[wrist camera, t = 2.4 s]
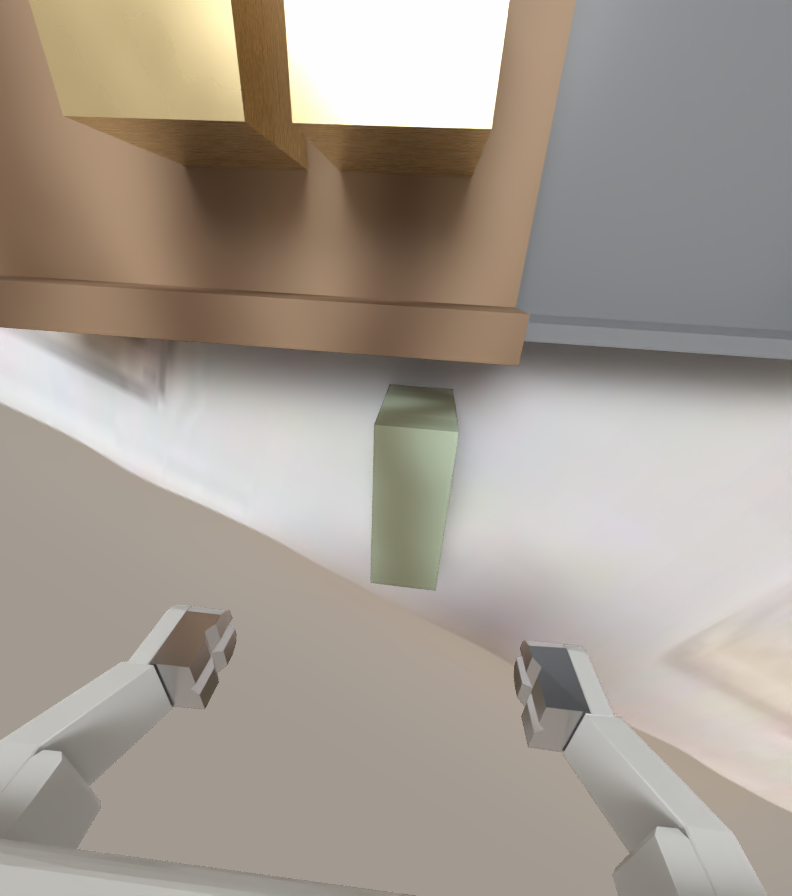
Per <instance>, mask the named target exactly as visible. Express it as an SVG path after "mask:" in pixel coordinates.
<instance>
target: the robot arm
mask: <svg viewBox="0 0 792 896" xmlns="http://www.w3.org/2000/svg"><path fill="white" fill-rule="evenodd" d="M231 620H232V615H231V612H230V610H222V609H214V608H205V607H196V606H190V605H189V606H188V605H179V604H175V605H173V606H172V607H171V608H169V609H168V610H167V612H166V613H165V614H164V615H163V617H162V618H161V619H160V621H159V622H158V624H157V625H156V626H155V627H154V628H153V630H152V631H151V632H150V634H149V635H148V636H147V637H146V639H145V640H144V641H143V643H142V644H141V645H140V647H139V648H138V649H137V650H136V652H135V653H134V654H133V656H132V657H131V658H130V660H129V661H128V662H123V661H122V662H121V663H119V664H118V665H116V666H114V667H113V668H111V669H110V670H109V671H107V672H105V673H104V674H102V675H101V676H99V677H97V678H96V679H94V680H93V681H92V682H90V683H88V684H87V685H85V686H84V687H82V688H80V689H79V690H77V691H76V692H74V693H73V694H71V695H70V696H68V697H67V698H65V699H64V700H62V701H60V702H59V703H57V704H56V705H54V706H53V707H51V708H50V709H48V710H47V711H45V712H43V713H42V714H40V715H39V716H37V717H36V718H34V719H33V720H31V721H30V722H28V723H26V724H25V725H23V726H22V727H20V728H19V729H17V730H16V731H14V732H13V733H11V734H9V735H8V736H7V737H5V738H3V739H2V740H0V896H416V895H408V894H401V893H394V892H387V891H379V890H372V889H365V888H358V887H350V886H343V885H336V884H328V883H321V882H313V881H307V880H299V879H292V878H284V877H277V876H270V875H263V874H256V873H248V872H241V871H234V870H227V869H219V868H212V867H205V866H197V865H190V864H182V863H176V862H168V861H161V860H154V859H146V858H139V857H131V856H124V855H117V854H110V853H102V852H96V851H88V850H81V849H77V847H78V846H79V844H80V843H81V841H82V839H83V837H84V836H85V834H86V832H87V831H88V829H89V827H90V826H91V824H92V822H93V821H94V819H95V817H96V815H97V814H98V812H99V811H100V809H101V801H100V799H99V798H98V797H97V795H96V794H95V793H94V792H93V791H92V789H91V788H90V787H89V786H90V785H91V784H92V783H93V782H94V781H95V780H96V779H97V778H98V777H100V776H101V775H102V774H103V773H104V772H105V771H106V770H107V769H108V768H109V767H111V765H113V764H114V763H115V762H116V761H117V760H118V759H119V758H120V757H121V756H122V755H123V754H125V753H126V752H127V751H128V750H129V749H130V748H131V747H132V746H133V745H134V744H135V743H136V742H138V741H139V740H140V739H141V738H142V737H143V736H144V735H145V734H146V733H147V732H148V731H149V730H150V729H152V728H153V727H154V726H155V725H156V724H157V723H158V722H159V721H160V720H161V719H162V718H163V717H165V716H166V715H167V714H168V713H169V712H170V711H171V710H172V709H173V708H172V707H182V708H194V709H205V708H206V706H207V704H208V702H209V700H210V698H211V696H212V694H213V693H214V690H215V688H216V687H217V684H218V683H219V681H218V672H219V671H220V670H222V669H223V668H224V667H226V666H227V665H228V662H229V661H230V659H231V657H232V654H233V651H234V648H235V644H236V631H235V628H234V627H232V626H231V625H230V622H231ZM520 650H521V654H522V655H521V656H520V657H518V658H517V659H516V662H515V666H514V682H515V689H516V694H517V697H518V699H519V700H520V701H521V703H522V704H523V705H524V706H525V709H524V711H523V714H522V716H521V717H522V721H523V726H524V730H525V735H526V739H527V744H528V747H530V748H537V749H544V750H550V751H557V752H564V753H563V755H564V757H565V759H566V760H567V761H568V763H569V764H570V766H571V767H572V769H573V770H574V772H575V773H576V775H577V776H578V778H579V779H580V781H581V782H582V783H583V785H584V786H585V788H586V789H587V791H588V792H589V794H590V795H591V797H592V798H593V800H594V801H595V803H596V804H597V806H598V807H599V809H600V810H601V812H602V813H603V815H604V816H605V817H606V819H607V820H608V822H609V823H610V825H611V826H612V828H613V829H614V831H615V832H616V834H617V835H618V837H619V838H620V840H621V841H622V842H623V844H624V845H625V847H626V848H627V850H628V851H629V853H630V854H629V855H628V856H627V857H626V858H625V859H624V860H623V861H622V862H621V863H620V864H619V865H618V866H617V867H616V868H615V870H614V873H613V875H612V876H613V879H614V883H615V886H616V889H617V893H618V896H768V895H767V894H766V892H765V890H764V888H763V886H762V885H761V883H760V881H759V879H758V877H757V875H756V873H755V872H754V870H753V868H752V866H751V864H750V863H749V861H748V859H747V857H746V855H745V853H744V852H743V850H742V848H741V846H740V844H739V843H738V841H737V839H736V837H735V835H734V834H733V833H732V832H731V831H730V830H729V829H728V827H727V826H726V825H725V824H724V823H722V821H721V820H720V819H719V818H718V817H717V816H716V815H715V814H714V813H713V812H712V811H711V810H710V809H709V808H708V807H707V806H706V805H705V804H704V803H703V802H702V801H701V799H700V798H699V797H698V796H697V795H696V794H695V793H694V792H693V791H692V790H691V789H690V788H689V787H688V786H687V785H686V784H685V783H684V782H683V781H682V780H681V779H680V778H679V777H678V776H677V775H676V774H675V773H674V772H673V771H672V769H671V768H670V767H669V766H668V765H667V764H666V763H665V762H664V761H663V760H662V759H661V758H660V757H659V756H658V755H657V754H656V753H655V752H654V751H653V750H652V749H651V748H650V747H649V746H648V745H647V744H646V743H645V742H644V740H643V739H641V737H639V735H638V734H637V733H636V732H635V731H634V730H633V729H632V728H631V727H630V726H629V725H628V724H627V723H626V722H625V721H624V720H623V719H622V718H621V717H616V716H614V713H613V711H612V709H611V706H610V704H609V702H608V700H607V697H606V695H605V693H604V690H603V688H602V686H601V683H600V681H599V679H598V677H597V674H596V672H595V670H594V667H593V665H592V663H591V660H590V658H589V656H588V654H587V651H586V650H585V649H584V648H583V647H582V646H578V645H566V644H561V643H551V642H539V641H527V640H525V641H523V642H522V644H521V647H520Z"/></svg>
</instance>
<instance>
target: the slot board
mask: <svg viewBox="0 0 792 896" xmlns="http://www.w3.org/2000/svg"><path fill="white" fill-rule="evenodd" d="M575 4H576V0H509V5H508V12H507V20H506V27H505V34H504V42H503V49H502V56H501V64H500V71H499V78H498V86H497V93H496V100H495V108H494V115H493V122H492V129H491V132H490V134H489V137H488V139H487V142H486V144H485V147H484V149H483V152H482V154H481V157H480V159H479V162H478V164H477V166H476V169H475V171H474V174H473V176H472V177H459V176H434V175H408V174H383V173H357V172H340V171H339V170H338V169H337V168H336V167H335V166H334V165H333V164H332V163H331V162H330V161H329V160H328V159H327V158H326V157H325V156H324V155H323V154H322V153H321V152H320V151H319V150H318V149H317V148H316V147H315V146H314V145H313V144H312V143H311V142H310V141H309V139H308V138H307V137H306V139H307V157H308V171H306V170H281V169H256V168H230V167H205V166H184V165H181V164H179V163H176V162H174V161H171V160H169V159H167V158H164V157H162V156H159V155H157V154H154V153H152V152H150V151H147V150H145V149H142V148H140V147H137V146H135V145H133V144H130V143H128V142H125V141H123V140H120V139H118V138H115V137H113V136H111V135H108V134H106V133H103V132H101V131H98V130H96V129H94V128H91V127H89V126H86V125H84V124H81V123H79V122H77V121H74V120H72V119H69V118H67V117H64V116H63V114H62V110H61V107H60V103H59V100H58V97H57V93H56V90H55V87H54V83H53V80H52V77H51V73H50V70H49V67H48V63H47V60H46V57H45V53H44V50H43V46H42V43H41V40H40V36H39V33H38V30H37V26H36V23H35V20H34V16H33V13H32V10H31V6H30V3H29V0H0V327H4V328H17V329H31V330H44V331H57V332H71V333H84V334H98V335H111V336H125V337H138V338H152V339H165V340H179V341H192V342H205V343H219V344H232V345H246V346H259V347H273V348H286V349H300V350H313V351H326V352H340V353H353V354H367V355H380V356H394V357H407V358H421V359H434V360H447V361H461V362H474V363H488V364H501V365H515V366H519V362H520V358H521V353H522V348H523V344H524V339H525V334H526V330H527V325H528V321H529V316H530V314H528V313H526V312H524V311H522V310H520V309H518V308H516V303H517V298H518V293H519V288H520V283H521V278H522V273H523V268H524V263H525V258H526V253H527V248H528V242H529V237H530V232H531V227H532V222H533V217H534V212H535V207H536V202H537V197H538V192H539V187H540V182H541V176H542V171H543V166H544V161H545V156H546V151H547V146H548V141H549V136H550V131H551V126H552V121H553V116H554V111H555V105H556V100H557V95H558V90H559V85H560V80H561V75H562V70H563V65H564V60H565V55H566V50H567V45H568V39H569V34H570V29H571V24H572V19H573V14H574V9H575Z"/></svg>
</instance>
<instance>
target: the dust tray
mask: <svg viewBox="0 0 792 896" xmlns="http://www.w3.org/2000/svg"><path fill="white" fill-rule="evenodd" d="M516 308H518V309H520V310H522V311H524V312H526V313H528V314H530V316H529V321H528V325H527V330H526V334H525V339H524V341H529V342H543V343H558V344H572V345H586V346H601V347H615V348H629V349H644V350H658V351H672V352H687V353H701V354H716V355H730V356H744V357H759V358H773V359H787V360H792V0H576V4H575V9H574V14H573V19H572V24H571V29H570V34H569V39H568V45H567V50H566V55H565V60H564V65H563V70H562V75H561V80H560V85H559V90H558V95H557V100H556V105H555V111H554V116H553V121H552V126H551V131H550V136H549V141H548V146H547V151H546V156H545V161H544V166H543V171H542V176H541V182H540V187H539V192H538V197H537V202H536V207H535V212H534V217H533V222H532V227H531V232H530V237H529V242H528V248H527V253H526V258H525V263H524V268H523V273H522V278H521V283H520V288H519V293H518V298H517V303H516Z"/></svg>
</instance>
